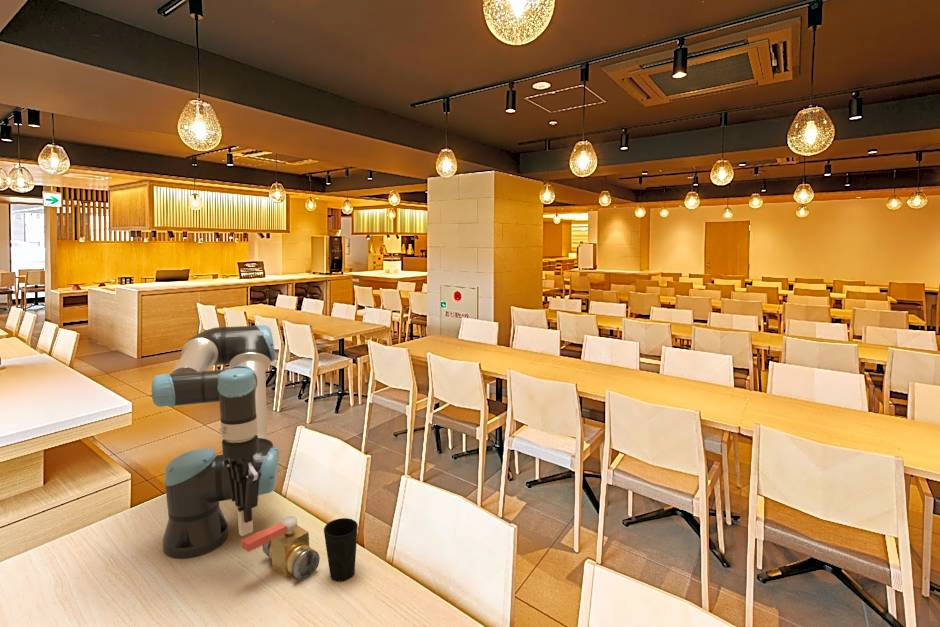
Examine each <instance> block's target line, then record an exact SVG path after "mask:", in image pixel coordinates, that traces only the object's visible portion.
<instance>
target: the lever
mask: <svg viewBox="0 0 940 627" xmlns="http://www.w3.org/2000/svg"><path fill="white" fill-rule="evenodd" d="M297 525H298V518H297V517H296V516H293V515H292V516H286V517H283V518H282V519H281V521H280V522H279V523H276V524H273V525H272V526H270V527H268V528H265V529H261V530H259V531H257V532H255V533H253V534H251V535H248V536H246V537H244V538H242V539H241V540H240V541H241V543H240V544H241V548H242V549H243V550H244V551H246V552H247V553H249V552H251V551H253V550H255V549H257V548H260V547H261V546H263V545H264V544H266V543H268V542H269V541H270V540H272V539H274V538H276V537H278V536H280V535H282V534H284V533H286V532H290V531H293V530H295V529H296V528H297Z"/></svg>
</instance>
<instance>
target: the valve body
mask: <svg viewBox="0 0 940 627" xmlns="http://www.w3.org/2000/svg"><path fill="white" fill-rule="evenodd" d="M309 535H310V534H309V531H308V530H306V529H304V528H303V527H301V526H299V525H298V524H297V528H296V529H295V530H293V531H290V532H286V533H284V534H282V535H280V536H278V537H276V538H274V539H272V540H270V541H269V542H268V543H266V544H264V545H262V552H263V553H264V554H265V555H266V556H267V557H269V558H270V559H271V564H272V568H273V569H275V570H276V571H277V572H278V573H280V574H281V575H282V576H283V577H285V578H288V577H290V576H291V575H293V576H294V577H295V579H296V578H297V579H298V580H301V581H303V580H306V579H309V578H310V577H312V575H314V573H315V572H316V570H317V568H318V567H319V564H320V559H321V558H320V554H319V551H317V550H315V549H314V548H312V547H310V536H309Z"/></svg>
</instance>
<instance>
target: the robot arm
mask: <svg viewBox="0 0 940 627" xmlns="http://www.w3.org/2000/svg"><path fill="white" fill-rule="evenodd" d="M180 353H181V354H180V355H181V357H180V359H179V360H178V361H177V363H176V364H175V366H174V368H173V369H172V370H171V373H168V372H167V373H163V374H157V375H155V376H154V377H153V379H152V381H151V398H152V403H153V404H154V406H156V407H158V408H159V407H161V408H162V407H179V406H188V405H189V406H190V405H196V404H206V403H207V404H208V403H218V402H219V403H218V404H219V414H220V415H219V416H220V428H219V431H220V433H221V438H222V441H221V446H222V448H221V449H222V454H217V452H216V451H215V450H214V449H213V448H206V447H205V448H198V449H193V450H189V451H187V452H184V453H181V454H179V455H178V456H175V457H174V458H173V459H171V460H170V461H169V462H168V464H166V466H165V469H164V485H165V494H166V502H167V503H166V506H167V512H168V513H167V514H168V520H167V523H166V527H165V530H164V534H163V537H162V550H163V552H164V554H165V555H167V556H168V557H170V558H176V559H187V558H193V557H198V556H202V555H205V554H207V553H210V552H211V551H213V550H216V549H217V548H219V547H220V546H221V545H222V544H224V543H225V541H226V540H227V539H228V537H229V534H230V533H229V532H230V531H229V529H230V528H229V523H228V522H227V519H226V518H225V517H226V516H224V513H223V511H222V510H221V507H220V506H221V505H220V502H223V501H230V500H231V501H232V502H233V503H234V504H235V506H236V507H237V522H238V524H237V525H238V534H239V535H240V536H241V537H243V536H246V535H249V534H250V533H253V532H254V522H253V509H254V508H256V507H258V504H259V503H258V501H259V496H262V495H266V494H270V493H272V492H273V491H274V490H275V488H276V487H277V482H278V473H279V460H280V450H279V448H278V447H274V442H273V441H272V440H271V439H269V438H268V424H267V423H268V422H267V420H268V419H267V418H268V417H267V384H266V382H267V381H266V379H267V378H266V373H267V372H266V371H267V370H268V369H269V368H271V367H270V366H271V364H272V362H275V360H276V349H275V345H274V340H273V334H272V329H271V328H270V327H269V326H268V325H260V324H258V325H257V324H254V325H245V326H244V325H243V326H242V325H241V326H217V327H212V328H209V329H206V330H203V331H201V332H199V333H197V334H195V335H193V336H191V337H190V338H189V339H188V340H187V341H186V342H185V343H184V345H183V346H182V349H181V352H180ZM223 365H224V366H225V365H226V366H227V365H229V368H228V369H217V370H209V369H210V368H211V367H212V366H223Z"/></svg>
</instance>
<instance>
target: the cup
mask: <svg viewBox="0 0 940 627" xmlns="http://www.w3.org/2000/svg"><path fill="white" fill-rule="evenodd" d="M358 529H359V526H358V522H356V521H355V520H354V519H352V518H347V517H344V518H343V517H342V518H336V519H333V520H331V521H329V522H328V523H326V525H325V526H324V528H323V534H324V541H325V548H326V556H327V562H328V569H329V575H330V576H329V577H330V579H331V580H332V581H334V582H338V583H343V582H346V581H348V580H350V579H352V578H353V577H354V576H355V571H356V570H355V569H356V559H357V558H356V556H357V555H356V554H357V543H358V540H357V539H358Z"/></svg>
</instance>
